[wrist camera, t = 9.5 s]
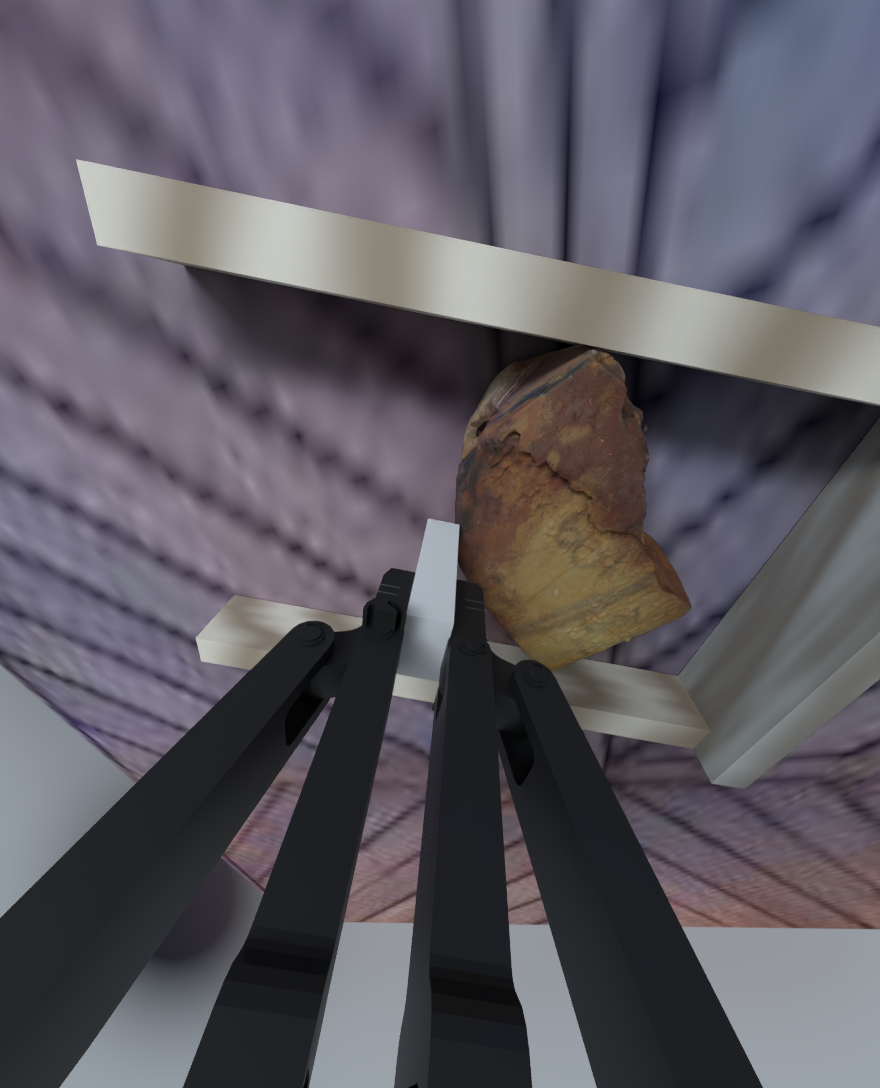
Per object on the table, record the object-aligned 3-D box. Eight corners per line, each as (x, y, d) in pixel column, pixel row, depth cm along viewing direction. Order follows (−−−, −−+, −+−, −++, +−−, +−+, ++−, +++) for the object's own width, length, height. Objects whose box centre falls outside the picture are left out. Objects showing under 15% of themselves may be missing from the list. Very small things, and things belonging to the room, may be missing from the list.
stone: (665, 587, 21) (715, 654, 17) (519, 632, 24) (529, 699, 20) (591, 328, 15) (639, 326, 11) (407, 429, 18) (384, 460, 14)
